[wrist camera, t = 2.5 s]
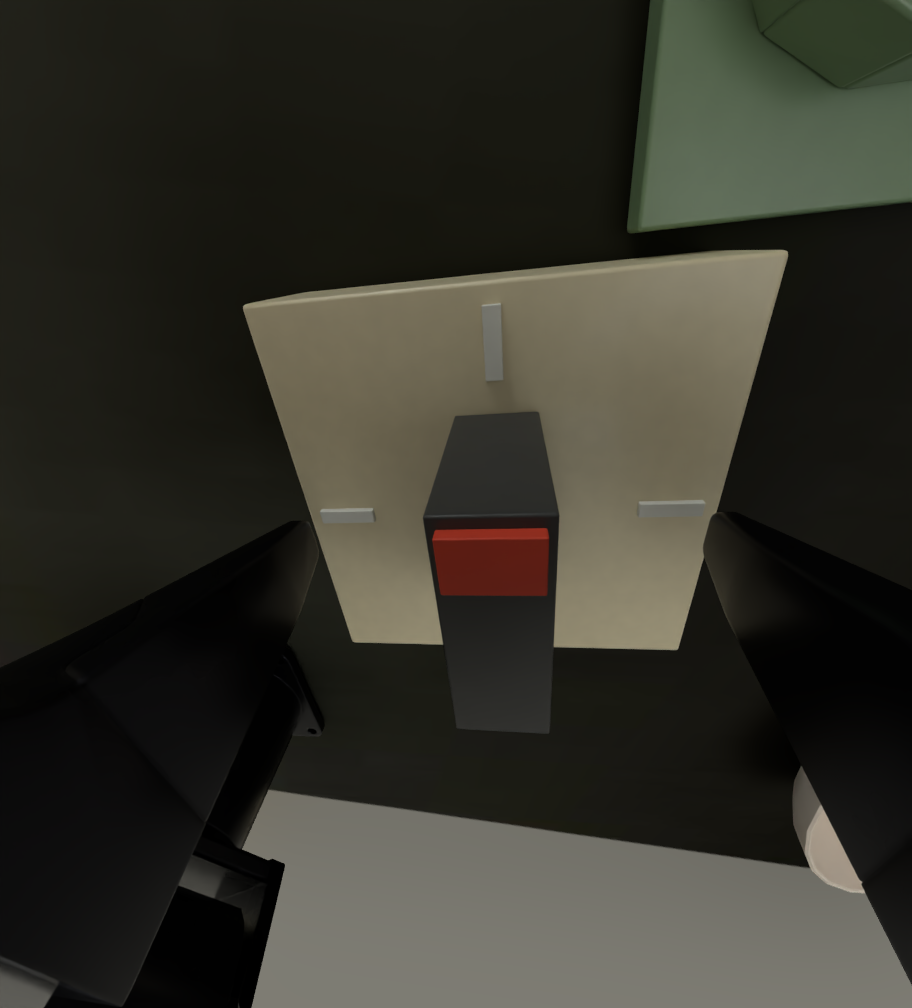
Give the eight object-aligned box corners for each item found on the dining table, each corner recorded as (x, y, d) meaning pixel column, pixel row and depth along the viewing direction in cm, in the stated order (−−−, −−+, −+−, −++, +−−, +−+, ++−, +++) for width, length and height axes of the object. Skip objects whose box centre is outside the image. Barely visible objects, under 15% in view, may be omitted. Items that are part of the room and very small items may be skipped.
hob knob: (536, 588, 11) (551, 747, 8) (471, 587, 11) (454, 742, 8) (539, 410, 9) (561, 524, 5) (454, 415, 9) (418, 527, 5)
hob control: (648, 581, 14) (680, 656, 12) (376, 580, 16) (349, 647, 13) (714, 249, 9) (798, 248, 7) (302, 292, 11) (234, 305, 8)
